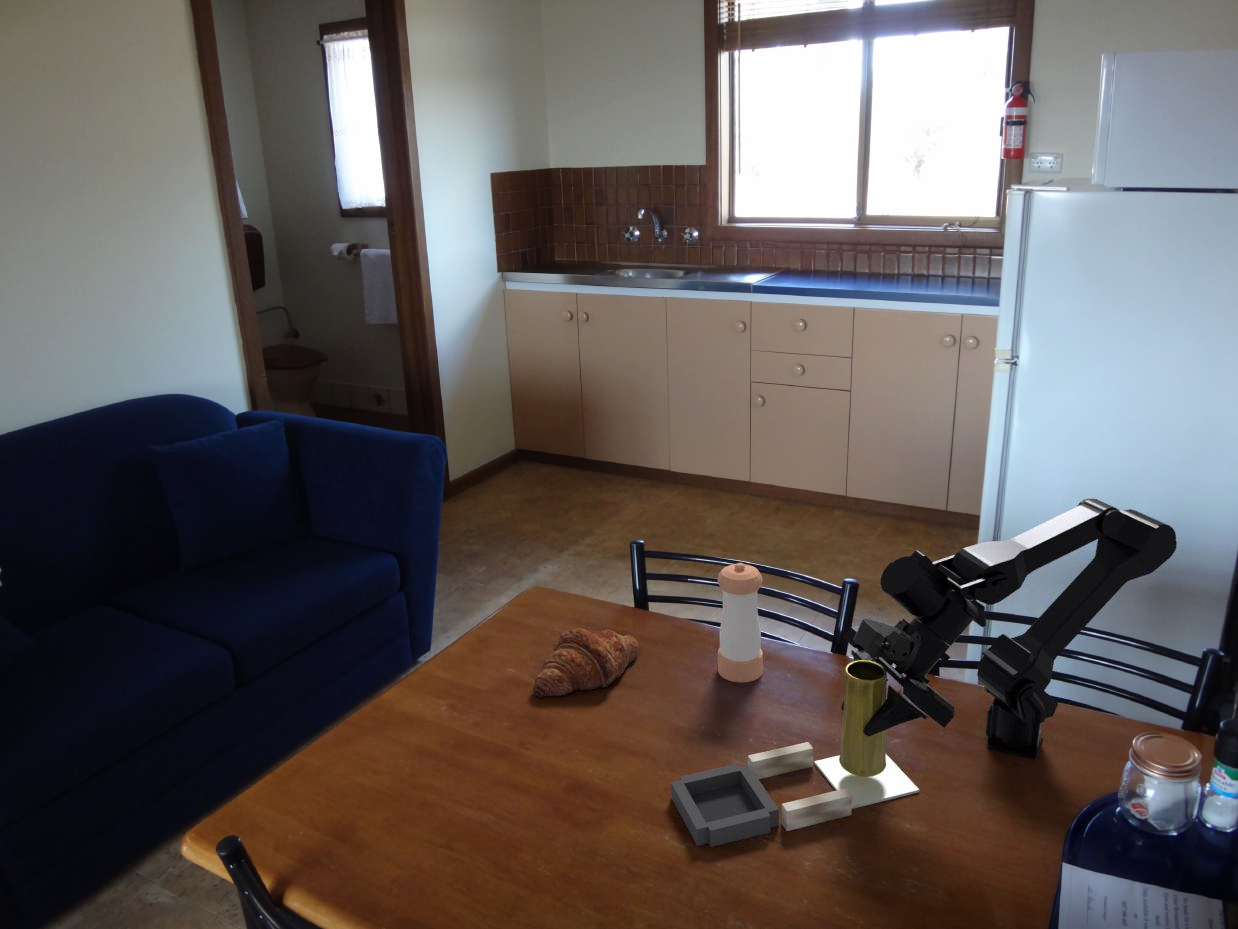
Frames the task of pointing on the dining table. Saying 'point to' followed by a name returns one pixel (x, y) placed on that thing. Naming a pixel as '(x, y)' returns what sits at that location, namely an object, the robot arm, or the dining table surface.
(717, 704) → the dining table surface
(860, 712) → the vase
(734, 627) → the salt shaker
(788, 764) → the channel
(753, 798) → the tray
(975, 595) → the robot arm
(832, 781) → the pad
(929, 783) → the dining table surface
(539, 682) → the pastry
